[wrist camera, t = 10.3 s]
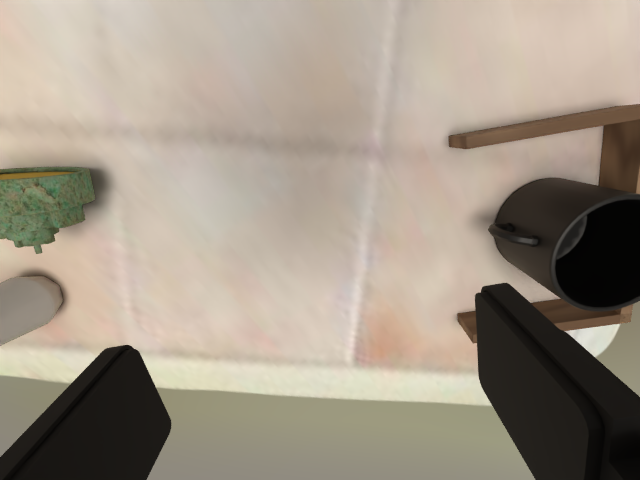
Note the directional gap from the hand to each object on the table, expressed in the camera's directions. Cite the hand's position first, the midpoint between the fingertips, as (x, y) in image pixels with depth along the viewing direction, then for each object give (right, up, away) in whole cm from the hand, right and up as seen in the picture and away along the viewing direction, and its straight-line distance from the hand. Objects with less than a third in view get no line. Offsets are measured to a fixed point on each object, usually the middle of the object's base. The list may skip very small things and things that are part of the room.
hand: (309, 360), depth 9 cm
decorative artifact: (-25, +7, +24) cm, 35 cm away
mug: (+21, +5, +24) cm, 33 cm away
